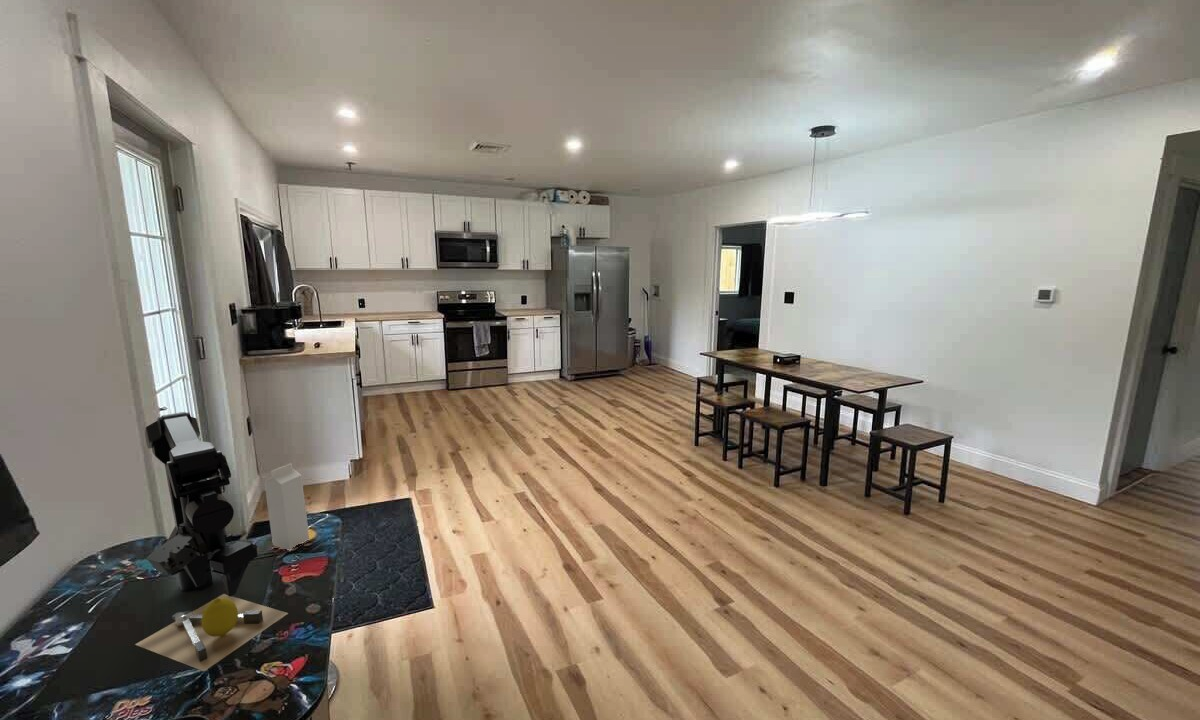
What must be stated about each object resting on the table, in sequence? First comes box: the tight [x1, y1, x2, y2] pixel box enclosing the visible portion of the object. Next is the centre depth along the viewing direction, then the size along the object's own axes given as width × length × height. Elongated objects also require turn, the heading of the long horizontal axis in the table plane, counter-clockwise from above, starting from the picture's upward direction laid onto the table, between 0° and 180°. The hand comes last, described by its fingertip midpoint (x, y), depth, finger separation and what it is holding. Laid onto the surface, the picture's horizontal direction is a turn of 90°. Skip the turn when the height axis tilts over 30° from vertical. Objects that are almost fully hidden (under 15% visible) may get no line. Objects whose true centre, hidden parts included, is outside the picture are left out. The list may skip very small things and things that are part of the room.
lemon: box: [202, 597, 238, 637], centre depth 93 cm, size 6×6×8 cm
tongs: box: [171, 610, 263, 662], centre depth 96 cm, size 17×12×2 cm
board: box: [134, 593, 289, 672], centre depth 96 cm, size 20×16×1 cm
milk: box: [264, 462, 310, 550], centre depth 128 cm, size 6×6×22 cm
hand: (215, 590), depth 92 cm, fingers open, 9 cm apart
